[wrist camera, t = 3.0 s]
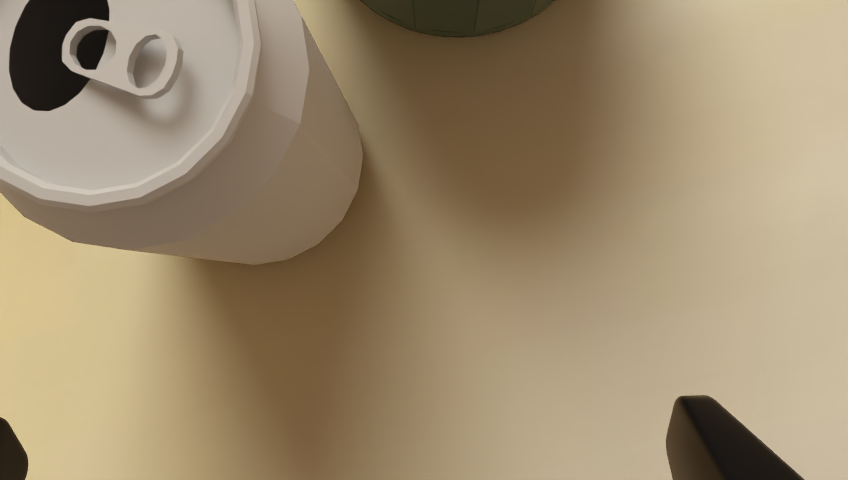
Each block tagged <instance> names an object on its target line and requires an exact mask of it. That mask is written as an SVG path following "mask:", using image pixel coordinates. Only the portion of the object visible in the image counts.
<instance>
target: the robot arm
mask: <svg viewBox="0 0 848 480" xmlns="http://www.w3.org/2000/svg"><path fill="white" fill-rule="evenodd" d="M666 450H667V456H668V460H669V465H670V469H671V473H672V478H673V480H804V479H803V478H802V477H801V476H800V475H799V474H797V473H796V472H795V471H794V470H793V469H792V468H791V467H790V466H789V465H787V464H786V463H785V462H784V461H783V460H782V459H781V458H780V457H778V456H777V455H776V454H775V453H774V452H773V451H772V450H771V449H769V448H768V447H767V446H766V445H765V444H764V443H763V442H762V441H761V440H759V439H758V438H757V437H756V436H755V435H754V434H753V433H752V432H750V431H749V430H748V429H747V428H746V427H745V426H744V425H743V424H741V423H740V422H739V421H738V420H737V419H736V418H735V417H734V416H733V415H731V414H730V413H729V412H728V411H727V410H726V409H725V408H724V407H722V406H721V405H720V404H719V403H718V402H717V401H716V400H714V399H713V398H711V397H709V396H706V395H696V396H680V397H678V398H677V399H676V401H675V403H674V407H673V411H672V415H671V419H670V424H669V428H668V432H667V437H666ZM27 471H28V457H27V454H26V452H25V450H24V448H23V447H22V445H21V443H20V442H19V440H18V438H17V437H16V435H15V433H14V432H13V430H12V428H11V426H10V425H9V423H8V422H7V421H6V420H5V419H3V418H1V417H0V480H25V478H26V475H27Z"/></svg>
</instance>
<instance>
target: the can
mask: <svg viewBox="0 0 848 480" xmlns="http://www.w3.org/2000/svg"><path fill="white" fill-rule="evenodd" d="M362 161H363V153H362V147H361V140H360V134H359V128H358V124H357V122H356V120H355V118H354V116H353V114H352V112H351V110H350V108H349V106H348V104H347V102H346V100H345V98H344V97H343V95H342V93H341V91H340V89H339V87H338V85H337V83H336V81H335V79H334V77H333V75H332V74H331V72H330V70H329V68H328V66H327V64H326V62H325V60H324V58H323V56H322V54H321V52H320V51H319V49H318V47H317V45H316V43H315V41H314V39H313V37H312V35H311V33H310V31H309V29H308V28H307V26H306V24H305V22H304V20H303V18H302V16H301V14H300V12H299V10H298V8H297V6H296V5H295V3H294V1H293V0H0V192H1V193H2V194H3V195H4V196H5V198H6V199H7V200H8V201H9V202H10V203H11V204H12V205H13V206H14V207H15V208H16V209H17V210H18V211H19V212H20V213H21V214H22V215H23V216H24V217H26V218H28V219H29V220H31V221H33V222H35V223H37V224H39V225H41V226H43V227H45V228H47V229H49V230H51V231H53V232H55V233H57V234H59V235H61V236H62V237H64V238H66V239H68V240H70V241H72V242H78V243H84V244H91V245H98V246H104V247H111V248H117V249H124V250H131V251H140V252H148V253H157V254H166V255H174V256H183V257H191V258H200V259H209V260H217V261H226V262H235V263H243V264H252V265H258V264H264V263H270V262H276V261H282V260H288V259H291V258H292V257H294V256H296V255H298V254H300V253H302V252H304V251H306V250H308V249H310V248H312V247H314V246H316V245H318V244H319V243H320V242H321V241H322V240H323V239H324V238H325V237H326V236H327V235H328V234H329V233H330V232H331V231H332V230H333V229H334V228H335V227H336V226H337V225H338V224H339V223H340V222H341V221H342V220H343V218H344V216H345V214H346V212H347V210H348V208H349V206H350V204H351V202H352V201H353V199H354V197H355V195H356V193H357V191H358V186H359V180H360V174H361V167H362Z"/></svg>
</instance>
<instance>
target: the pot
mask: <svg viewBox="0 0 848 480" xmlns="http://www.w3.org/2000/svg"><path fill="white" fill-rule="evenodd" d="M361 1H362V2H363V3H365V4H366V5H367V6H368V7H370V8H371V9H372V10H373V11H375V12H376V13H378V14H380V15H381V16H383V17H385V18H386V19H388V20H390V21H392V22H394V23H396V24H399V25H401V26H403V27H405V28H408V29H411V30H415V31H418V32H422V33H425V34H431V35H438V36H444V37H468V36H478V35H484V34H489V33H493V32H497V31H501V30H504V29H507V28H509V27H512V26H514V25H517V24H519V23H521V22H523V21H525V20H527V19H529V18H531V17H533V16H535V15H536V14H538V13H539V12H540V11H542V10H543V9H545V8H546V7H547V6H549V5H550V4H551V3H552V2H554V1H555V0H361Z"/></svg>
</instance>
